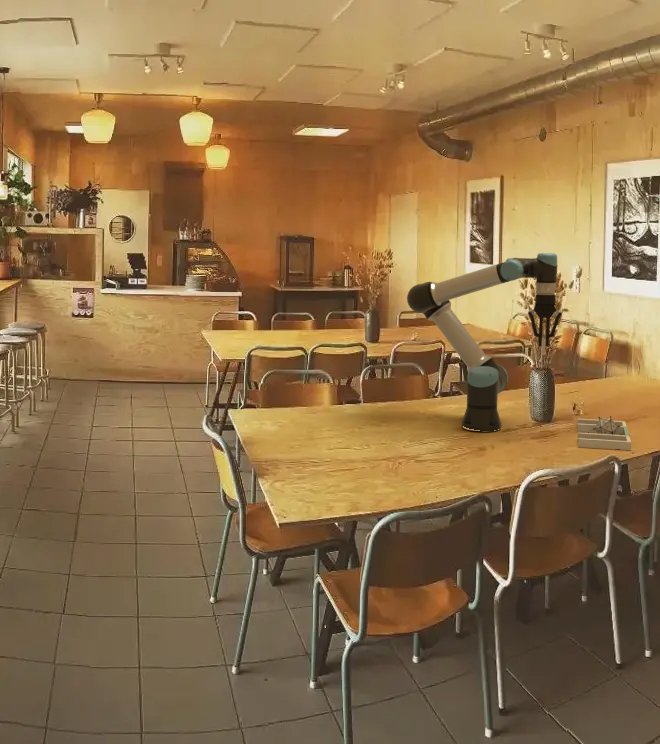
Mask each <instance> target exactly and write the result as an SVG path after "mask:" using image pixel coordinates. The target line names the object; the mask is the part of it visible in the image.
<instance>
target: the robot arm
mask: <svg viewBox="0 0 660 744" xmlns="http://www.w3.org/2000/svg"><path fill="white" fill-rule="evenodd" d="M557 275H558V255H557V254H556V253H555V252H553V253H552V252H545V253H544V252H542V253H541V252H540V253H538V254H537V257H535V258H534V257H532V258H529V257H526V258H525V257H524V258H523V257H510V258H507V259H506V260H505V261H504V262H500V263H498V264H494V265H490V266H487V267H484V268H481V269H478V270H475V271H472V272H469V273H465V274H462V275H459V276H457V277H453V278H450V279H449V278H448V279H446V280H443V281H440V282H435V281H427V282H423V283H419V284H415V285H414V286H412V287H411V288H410V289H409V291H408V292H407V296H406V298H407V299H406V301H407V304H408V307H409V308H410V310H412V311H414V312H416V313H418V314H423V315H424V317H425V318H426V319H427V320H428V321H430V322H433V323H434V324H435V325H436V326H437V328H438V329H439V330H440V332H441V333H442V334H443V336H444V337H445V339H446V340H447V341H448V343H449V344H450V345H451V347H452V349H454V350H455V353H457V355H458V356H459V358H460V359H461V360H462V361H463V363H464V364H465V365H466V367H467V368H468V371H467V377H466V382H467V384H466V385H467V388H466V409H465V412H464V415H463V417H462V421H461V427H462V426H464V427H466V428H469V429H474V430H480V431H494V430H498V429H500V428H501V429H502V422H501V418H500V415H499V411H498V395H499V394H500V393H501V392H503V391H504V390H505V389H506V387H507V385H508V382H509V376H508V375H509V374H508V371H507V369H505V367H503V366H502V365H501V364H498V363H497V361H496V360H495V359H494V358H493V357H492V356H490V355H486V354H485V352H484V351H483V349H482V348H481V347H480V346H479V344H478V343H477V342H476V341H475V339H474V337H472V335H471V333H470V332H469V331H468V329H467V328H466V326H465V325H463V322H462V321H461V320H460V319H459V318H458V316H457V315H456V314H455V312H454V311H453V310H452V309H451V307H452V303H451V301H450V300H453V299H457V298H460V297H463V296H466V295H469V294H472V293H477V292H479V291H482V290H486V289H489V288H492V287H495V286H499V285H502V284H506V283H509V282H513V281H517V280H518V279H522V278H523V279H536V281H535V283H536V284H535V293H536V294H537V293H538V295H536V294H535V305H534V307H533V309H532V310H529V311H528V313H527V315H528V316H529V318H530V322H531V326H532V330H533V331H532V332H533V335H534V337H537V338H538V347H541V348H540V349H541V351H540V353H541V354H540V355H541V356H546V348H547V347H549V345H550V338H553V337H554V336H555V332H556V329H557V326H558V323H559V320H560V318H561V317H562V315H563V312H562V311H560V310H558V309H555V307H554V305H555V306H556V304H557V303H556V300H557V295H556V293H557V280H558V279H557V278H558V276H557ZM555 290H556V292H555ZM545 294H546V295H545ZM555 303H556V304H555ZM535 314H536V315H537V316H538V318H539V323H538V324H539V327H538V329H539V330H538V329H537V325H536V324H537V323H536V320H535V319H536V318H535ZM553 315H555V319H554V323H553V325H552V329H551V333H550V325H551V321H550V320H551V318H552V317H553ZM544 319H545V320H546V322H545V323H546V324H545V337H543V327H544ZM501 429H500V430H501Z"/></svg>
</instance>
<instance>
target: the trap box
mask: <svg viewBox="0 0 660 744" xmlns="http://www.w3.org/2000/svg"><path fill="white" fill-rule="evenodd" d="M598 421H599V419H589V418H577V419H576V433H577V447H578V448H587V449H590V448H591V449H600V450H601V449H602V450H603V449H604V450H615V449H620V451H630V450H631V449H632V441H631V437H630V436H631V435H630V433H629V430H628V426H627V424H626V421H624V420H613V421H614V422H615V423H616V424H617V426H620V427H618V428H617V430H616V432H615V434H614V435H611V434H599V433H598V432H597V431H596V430H595V429H594V430H593V428H595V427H596V425H597V423H598ZM588 432H589V433H588ZM620 434H623V435H620ZM631 451H632V450H631Z"/></svg>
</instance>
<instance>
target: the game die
mask: <svg viewBox="0 0 660 744" xmlns="http://www.w3.org/2000/svg"><path fill="white" fill-rule="evenodd" d="M597 418H598V420H599V421H598V423H597V425H596V427H595V428H593V430H594V429H595V430H596V431H597V432H598V433H597V434H611V435H616V434H615V432H616V430H617V428H618V427H620V426H617V424H616V423H615V422H614V421H615V420H613V419H612V415H610V416H609V417H603V418H602V417H600V416H598V417H597Z"/></svg>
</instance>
